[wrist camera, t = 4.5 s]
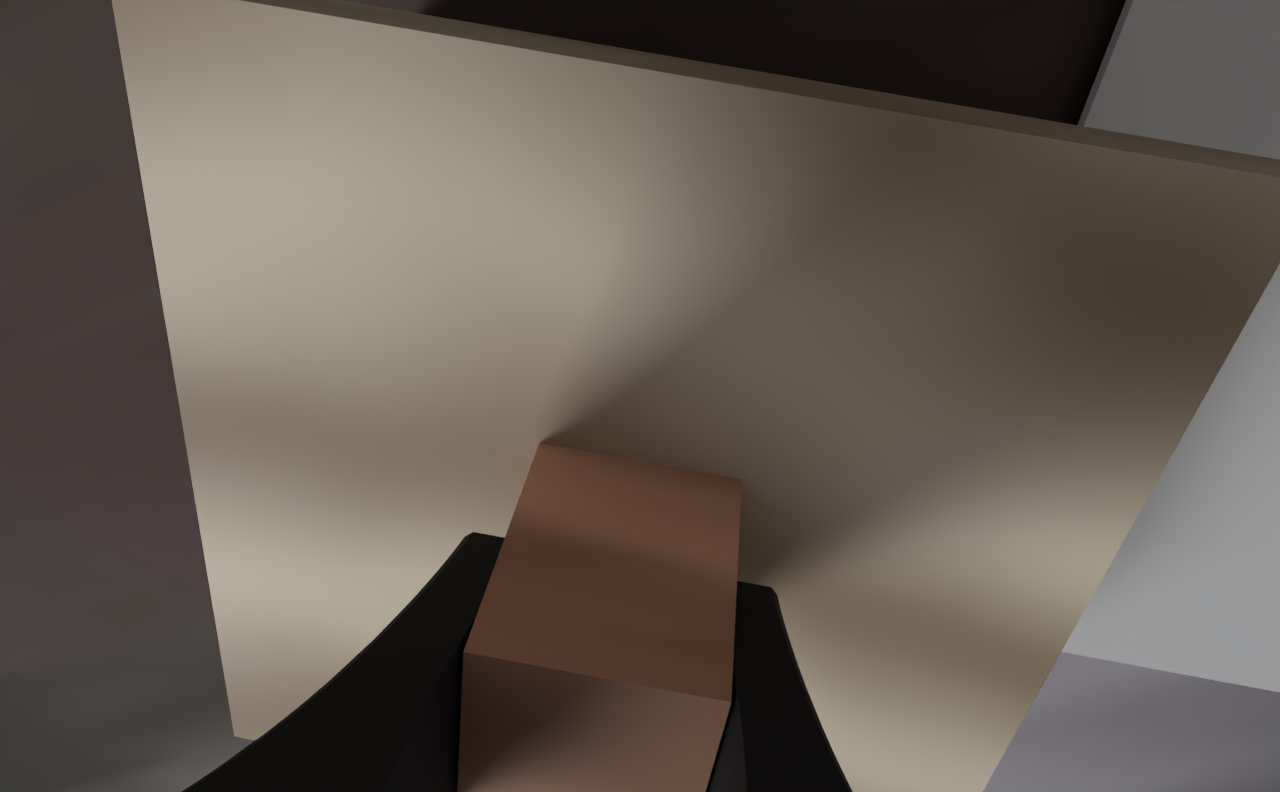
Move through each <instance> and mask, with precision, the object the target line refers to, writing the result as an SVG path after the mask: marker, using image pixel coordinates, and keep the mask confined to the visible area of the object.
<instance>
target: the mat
mask: <svg viewBox="0 0 1280 792" xmlns="http://www.w3.org/2000/svg"><path fill="white" fill-rule="evenodd" d="M1077 125H1078V126H1084V127H1090V128H1096V129H1102V130H1108V131H1114V132H1120V133H1125V134H1131V135H1137V136H1143V137H1149V138H1155V139H1161V140H1167V141H1173V142H1178V143H1184V144H1190V145H1196V146H1202V147H1208V148H1214V149H1220V150H1226V151H1232V152H1237V153H1243V154H1249V155H1255V156H1261V157H1267V158H1273V159H1279V160H1280V0H1126V2H1125V4H1124V7H1123V9H1122V12H1121V14H1120V17H1119V19H1118V22H1117V25H1116V27H1115V30H1114V32H1113V35H1112V37H1111V40H1110V43H1109V45H1108V48H1107V50H1106V53H1105V55H1104V58H1103V60H1102V63H1101V66H1100V68H1099V71H1098V73H1097V76H1096V78H1095V81H1094V83H1093V86H1092V89H1091V91H1090V94H1089V96H1088V99H1087V101H1086V104H1085V107H1084V109H1083V112H1082V114H1081V117H1080V119H1079V122H1078V124H1077ZM1061 652H1065V653H1071V654H1076V655H1081V656H1087V657H1092V658H1098V659H1103V660H1108V661H1114V662H1119V663H1125V664H1130V665H1135V666H1141V667H1146V668H1152V669H1157V670H1162V671H1168V672H1173V673H1179V674H1184V675H1189V676H1195V677H1200V678H1206V679H1211V680H1216V681H1222V682H1227V683H1233V684H1238V685H1243V686H1249V687H1254V688H1260V689H1265V690H1270V691H1276V692H1280V264H1279V266H1278V268H1277V269H1276V271H1275V273H1274V275H1273V276H1272V278H1271V280H1270V282H1269V284H1268V285H1267V287H1266V289H1265V291H1264V292H1263V294H1262V296H1261V298H1260V300H1259V301H1258V303H1257V305H1256V307H1255V308H1254V310H1253V312H1252V314H1251V316H1250V317H1249V319H1248V321H1247V323H1246V324H1245V326H1244V328H1243V330H1242V332H1241V333H1240V335H1239V337H1238V339H1237V340H1236V342H1235V344H1234V346H1233V348H1232V349H1231V351H1230V353H1229V355H1228V356H1227V358H1226V360H1225V362H1224V364H1223V365H1222V367H1221V369H1220V371H1219V372H1218V374H1217V376H1216V378H1215V380H1214V381H1213V383H1212V385H1211V387H1210V388H1209V390H1208V392H1207V394H1206V396H1205V397H1204V399H1203V401H1202V403H1201V404H1200V406H1199V408H1198V410H1197V411H1196V413H1195V415H1194V417H1193V419H1192V420H1191V422H1190V424H1189V426H1188V427H1187V429H1186V431H1185V433H1184V435H1183V436H1182V438H1181V440H1180V442H1179V443H1178V445H1177V447H1176V449H1175V451H1174V452H1173V454H1172V456H1171V458H1170V459H1169V461H1168V463H1167V465H1166V467H1165V468H1164V470H1163V472H1162V474H1161V475H1160V477H1159V479H1158V481H1157V483H1156V484H1155V486H1154V488H1153V490H1152V491H1151V493H1150V495H1149V497H1148V499H1147V500H1146V502H1145V504H1144V506H1143V507H1142V509H1141V511H1140V513H1139V515H1138V516H1137V518H1136V520H1135V522H1134V523H1133V525H1132V527H1131V529H1130V531H1129V532H1128V534H1127V536H1126V538H1125V539H1124V541H1123V543H1122V545H1121V547H1120V548H1119V550H1118V552H1117V554H1116V555H1115V557H1114V559H1113V561H1112V563H1111V564H1110V566H1109V568H1108V570H1107V571H1106V573H1105V575H1104V577H1103V578H1102V580H1101V582H1100V584H1099V586H1098V587H1097V589H1096V591H1095V593H1094V594H1093V596H1092V598H1091V600H1090V602H1089V603H1088V605H1087V607H1086V609H1085V610H1084V612H1083V614H1082V616H1081V618H1080V619H1079V621H1078V623H1077V625H1076V626H1075V628H1074V630H1073V632H1072V634H1071V635H1070V637H1069V639H1068V641H1067V642H1066V644H1065V646H1064V648H1063V650H1062V651H1061Z"/></svg>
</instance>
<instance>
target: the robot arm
mask: <svg viewBox="0 0 1280 792" xmlns="http://www.w3.org/2000/svg"><path fill="white" fill-rule="evenodd" d="M504 539H505V538H504V537H498V536H493V535H488V534H482V533H477V532H472V533H470V534H468V535H467V536H465V537H464V538H463V540H462V541H461V542H460V544H459V545H458V546H457V548H456V549H455V550H454V551H453V553H452V554H451V555H450V556H449V558H448V559H447V560H446V561H445V563H444V564H443V565H442V566H441V567H440V569H439V570H438V571H437V572H436V573H435V574H434V576H433V577H432V578H431V579H430V580H429V581H428V582H427V584H426V585H425V586H424V587H423V588H422V589H421V590H420V591H419V593H418V594H417V595H416V596H415V597H414V598H413V599H412V600H411V601H410V602H409V603H408V604H407V605H406V607H405V608H404V609H403V610H402V611H401V612H400V613H399V614H398V615H397V616H396V617H395V618H394V619H393V620H392V621H391V622H390V623H389V624H388V625H387V626H386V627H385V628H384V629H383V631H382V632H381V633H380V634H379V635H378V636H377V637H376V638H375V639H374V640H372V641H371V642H370V643H369V644H368V645H367V646H366V647H365V648H364V649H363V650H362V651H361V652H360V653H359V654H358V655H356V656H355V657H354V658H353V659H352V660H351V661H350V662H349V663H348V664H347V665H346V666H345V667H344V668H343V669H341V670H340V671H339V672H338V673H337V674H336V675H335V676H334V677H333V678H332V679H331V680H330V681H328V682H327V683H326V684H325V685H324V686H323V687H321V688H320V689H319V690H318V691H317V692H316V693H315V694H313V695H312V696H311V697H310V698H309V699H307V700H306V701H305V702H304V703H303V704H301V705H300V706H299V707H298V708H297V709H295V710H294V711H293V712H292V713H290V714H289V715H288V716H287V717H285V718H284V719H283V720H281V721H280V722H279V723H278V724H276V725H275V726H274V727H273V728H271V729H270V730H269V731H267V732H266V733H265V734H264V735H262V736H261V737H259V738H258V739H257V740H255V741H254V742H253V743H251V744H250V745H248V746H247V747H246V748H244V749H243V750H242V751H240V752H239V753H237V754H236V755H235V756H233V757H232V758H231V759H229V760H228V761H226V762H225V763H224V764H222V765H221V766H219V767H218V768H216V769H215V770H214V771H212V772H211V773H209V774H208V775H206V776H205V777H203V778H202V779H200V780H199V781H197V782H196V783H194V784H193V785H191V786H190V787H188V788H187V789H185V790H183V791H182V792H457V785H458V762H459V739H460V717H461V694H462V671H463V651H464V649H465V646H466V643H467V640H468V638H469V635H470V632H471V629H472V627H473V624H474V621H475V618H476V616H477V613H478V610H479V607H480V605H481V602H482V599H483V596H484V594H485V591H486V588H487V585H488V583H489V580H490V577H491V574H492V572H493V569H494V566H495V563H496V561H497V558H498V555H499V552H500V550H501V547H502V544H503V541H504ZM706 792H853V791H852V789H851V787H850V785H849V783H848V781H847V779H846V777H845V775H844V773H843V771H842V769H841V767H840V765H839V762H838V760H837V758H836V756H835V754H834V752H833V750H832V747H831V745H830V743H829V741H828V738H827V736H826V734H825V732H824V729H823V727H822V725H821V722H820V720H819V717H818V715H817V712H816V710H815V707H814V705H813V703H812V700H811V698H810V695H809V693H808V690H807V688H806V685H805V682H804V680H803V677H802V674H801V672H800V669H799V666H798V663H797V660H796V657H795V654H794V652H793V649H792V646H791V643H790V639H789V636H788V633H787V630H786V626H785V623H784V620H783V616H782V612H781V608H780V604H779V600H778V595H777V594H776V592H775V591H774V590H773V588H772V587H769V586H763V585H758V584H752V583H747V582H741V581H737V594H736V615H735V636H734V658H733V679H732V700H731V706H730V709H729V712H728V716H727V719H726V723H725V726H724V730H723V733H722V737H721V740H720V744H719V747H718V750H717V754H716V757H715V761H714V764H713V768H712V771H711V775H710V778H709V782H708V785H707V788H706Z"/></svg>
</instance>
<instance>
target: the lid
mask: <svg viewBox="0 0 1280 792" xmlns="http://www.w3.org/2000/svg"><path fill="white" fill-rule="evenodd" d="M112 4H113V10H114V16H115V22H116V28H117V34H118V40H119V46H120V52H121V58H122V64H123V70H124V76H125V82H126V88H127V94H128V100H129V106H130V112H131V118H132V124H133V130H134V136H135V142H136V148H137V154H138V160H139V166H140V172H141V178H142V184H143V190H144V196H145V202H146V208H147V214H148V220H149V226H150V232H151V238H152V244H153V250H154V256H155V262H156V268H157V274H158V280H159V286H160V292H161V298H162V304H163V310H164V316H165V322H166V328H167V334H168V340H169V346H170V352H171V358H172V364H173V370H174V376H175V382H176V388H177V394H178V400H179V406H180V412H181V418H182V424H183V430H184V436H185V442H186V448H187V454H188V460H189V466H190V472H191V478H192V484H193V490H194V496H195V502H196V508H197V514H198V520H199V526H200V532H201V538H202V544H203V550H204V556H205V562H206V568H207V574H208V580H209V586H210V592H211V598H212V604H213V610H214V616H215V622H216V628H217V634H218V640H219V646H220V652H221V658H222V664H223V670H224V676H225V682H226V688H227V694H228V700H229V706H230V712H231V718H232V724H233V730H234V736H235V737H240V738H245V739H251V740H257V739H258V738H259V737H261V736H262V735H264V734H265V733H266V732H267V731H269V730H270V729H271V728H273V727H274V726H275V725H276V724H278V723H279V722H280V721H281V720H283V719H284V718H285V717H287V716H288V715H289V714H290V713H292V712H293V711H294V710H295V709H297V708H298V707H299V706H300V705H301V704H303V703H304V702H305V701H306V700H307V699H309V698H310V697H311V696H312V695H313V694H315V693H316V692H317V691H318V690H319V689H320V688H321V687H323V686H324V685H325V684H326V683H327V682H328V681H330V680H331V679H332V678H333V677H334V676H335V675H336V674H337V673H338V672H339V671H340V670H341V669H343V668H344V667H345V666H346V665H347V664H348V663H349V662H350V661H351V660H352V659H353V658H354V657H355V656H356V655H358V654H359V653H360V652H361V651H362V650H363V649H364V648H365V647H366V646H367V645H368V644H369V643H370V642H371V641H372V640H374V639H375V638H376V637H377V636H378V635H379V634H380V633H381V632H382V631H383V629H384V628H385V627H386V626H387V625H388V624H389V623H390V622H391V621H392V620H393V619H394V618H395V617H396V616H397V615H398V614H399V613H400V612H401V611H402V610H403V609H404V608H405V607H406V605H407V604H408V603H409V602H410V601H411V600H412V599H413V598H414V597H415V596H416V595H417V594H418V593H419V591H420V590H421V589H422V588H423V587H424V586H425V585H426V584H427V582H428V581H429V580H430V579H431V578H432V577H433V576H434V574H435V573H436V572H437V571H438V570H439V569H440V567H441V566H442V565H443V564H444V563H445V561H446V560H447V559H448V558H449V556H450V555H451V554H452V553H453V551H454V550H455V549H456V548H457V546H458V545H459V544H460V542H461V541H462V540H463V538H464V537H465V536H467V535H468V534H470V533H472V532H477V533H482V534H488V535H493V536H498V537H504V538H505V539H504V541H503V544H502V547H501V550H500V552H499V555H498V558H497V561H496V563H495V566H494V569H493V572H492V574H491V577H490V580H489V583H488V585H487V588H486V591H485V594H484V596H483V599H482V602H481V605H480V607H479V610H478V613H477V616H476V618H475V621H474V624H473V627H472V629H471V632H470V635H469V638H468V640H467V643H466V646H465V649H464V651H463V671H462V694H461V717H460V739H459V762H458V785H457V792H706V788H707V785H708V782H709V778H710V775H711V771H712V768H713V764H714V761H715V757H716V754H717V750H718V747H719V744H720V740H721V737H722V733H723V730H724V726H725V723H726V719H727V716H728V712H729V709H730V706H731V700H732V679H733V658H734V636H735V615H736V594H737V581H741V582H747V583H752V584H758V585H763V586H769V587H772V588H773V590H774V591H775V592H776V594H777V595H778V600H779V604H780V608H781V612H782V616H783V620H784V623H785V626H786V630H787V633H788V636H789V639H790V643H791V646H792V649H793V652H794V654H795V657H796V660H797V663H798V666H799V669H800V672H801V674H802V677H803V680H804V682H805V685H806V688H807V690H808V693H809V695H810V698H811V700H812V703H813V705H814V707H815V710H816V712H817V715H818V717H819V720H820V722H821V725H822V727H823V729H824V732H825V734H826V736H827V738H828V741H829V743H830V745H831V747H832V750H833V752H834V754H835V756H836V758H837V760H838V762H839V765H840V767H841V769H842V771H843V773H844V775H845V777H846V779H847V781H848V783H849V785H850V787H851V789H852V791H853V792H983V790H984V788H985V786H986V785H987V783H988V781H989V779H990V777H991V776H992V774H993V772H994V770H995V769H996V767H997V765H998V763H999V761H1000V760H1001V758H1002V756H1003V754H1004V753H1005V751H1006V749H1007V747H1008V745H1009V744H1010V742H1011V740H1012V738H1013V737H1014V735H1015V733H1016V731H1017V729H1018V728H1019V726H1020V724H1021V722H1022V721H1023V719H1024V717H1025V715H1026V714H1027V712H1028V710H1029V708H1030V706H1031V705H1032V703H1033V701H1034V699H1035V698H1036V696H1037V694H1038V692H1039V690H1040V689H1041V687H1042V685H1043V683H1044V682H1045V680H1046V678H1047V676H1048V674H1049V673H1050V671H1051V669H1052V667H1053V666H1054V664H1055V662H1056V660H1057V658H1058V657H1059V655H1060V653H1061V651H1062V650H1063V648H1064V646H1065V644H1066V642H1067V641H1068V639H1069V637H1070V635H1071V634H1072V632H1073V630H1074V628H1075V626H1076V625H1077V623H1078V621H1079V619H1080V618H1081V616H1082V614H1083V612H1084V610H1085V609H1086V607H1087V605H1088V603H1089V602H1090V600H1091V598H1092V596H1093V594H1094V593H1095V591H1096V589H1097V587H1098V586H1099V584H1100V582H1101V580H1102V578H1103V577H1104V575H1105V573H1106V571H1107V570H1108V568H1109V566H1110V564H1111V563H1112V561H1113V559H1114V557H1115V555H1116V554H1117V552H1118V550H1119V548H1120V547H1121V545H1122V543H1123V541H1124V539H1125V538H1126V536H1127V534H1128V532H1129V531H1130V529H1131V527H1132V525H1133V523H1134V522H1135V520H1136V518H1137V516H1138V515H1139V513H1140V511H1141V509H1142V507H1143V506H1144V504H1145V502H1146V500H1147V499H1148V497H1149V495H1150V493H1151V491H1152V490H1153V488H1154V486H1155V484H1156V483H1157V481H1158V479H1159V477H1160V475H1161V474H1162V472H1163V470H1164V468H1165V467H1166V465H1167V463H1168V461H1169V459H1170V458H1171V456H1172V454H1173V452H1174V451H1175V449H1176V447H1177V445H1178V443H1179V442H1180V440H1181V438H1182V436H1183V435H1184V433H1185V431H1186V429H1187V427H1188V426H1189V424H1190V422H1191V420H1192V419H1193V417H1194V415H1195V413H1196V411H1197V410H1198V408H1199V406H1200V404H1201V403H1202V401H1203V399H1204V397H1205V396H1206V394H1207V392H1208V390H1209V388H1210V387H1211V385H1212V383H1213V381H1214V380H1215V378H1216V376H1217V374H1218V372H1219V371H1220V369H1221V367H1222V365H1223V364H1224V362H1225V360H1226V358H1227V356H1228V355H1229V353H1230V351H1231V349H1232V348H1233V346H1234V344H1235V342H1236V340H1237V339H1238V337H1239V335H1240V333H1241V332H1242V330H1243V328H1244V326H1245V324H1246V323H1247V321H1248V319H1249V317H1250V316H1251V314H1252V312H1253V310H1254V308H1255V307H1256V305H1257V303H1258V301H1259V300H1260V298H1261V296H1262V294H1263V292H1264V291H1265V289H1266V287H1267V285H1268V284H1269V282H1270V280H1271V278H1272V276H1273V275H1274V273H1275V271H1276V269H1277V268H1278V266H1279V264H1280V160H1279V159H1273V158H1267V157H1261V156H1255V155H1249V154H1243V153H1237V152H1232V151H1226V150H1220V149H1214V148H1208V147H1202V146H1196V145H1190V144H1184V143H1178V142H1173V141H1167V140H1161V139H1155V138H1149V137H1143V136H1137V135H1131V134H1125V133H1120V132H1114V131H1108V130H1102V129H1096V128H1090V127H1084V126H1078V125H1072V124H1067V123H1061V122H1055V121H1049V120H1043V119H1037V118H1031V117H1025V116H1019V115H1014V114H1008V113H1002V112H996V111H990V110H984V109H978V108H972V107H966V106H961V105H955V104H949V103H943V102H937V101H931V100H925V99H919V98H913V97H908V96H902V95H896V94H890V93H884V92H878V91H872V90H866V89H860V88H855V87H849V86H843V85H837V84H831V83H825V82H819V81H813V80H807V79H802V78H796V77H790V76H784V75H778V74H772V73H766V72H760V71H754V70H749V69H743V68H737V67H731V66H725V65H719V64H713V63H707V62H701V61H696V60H690V59H684V58H678V57H672V56H666V55H660V54H654V53H648V52H642V51H637V50H631V49H625V48H619V47H613V46H607V45H601V44H595V43H589V42H584V41H578V40H572V39H566V38H560V37H554V36H548V35H542V34H536V33H531V32H525V31H519V30H513V29H507V28H501V27H495V26H489V25H483V24H478V23H472V22H466V21H460V20H454V19H448V18H442V17H436V16H430V15H425V14H419V13H413V12H407V11H401V10H395V9H389V8H383V7H377V6H372V5H366V4H360V3H354V2H348V1H342V0H112Z"/></svg>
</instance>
